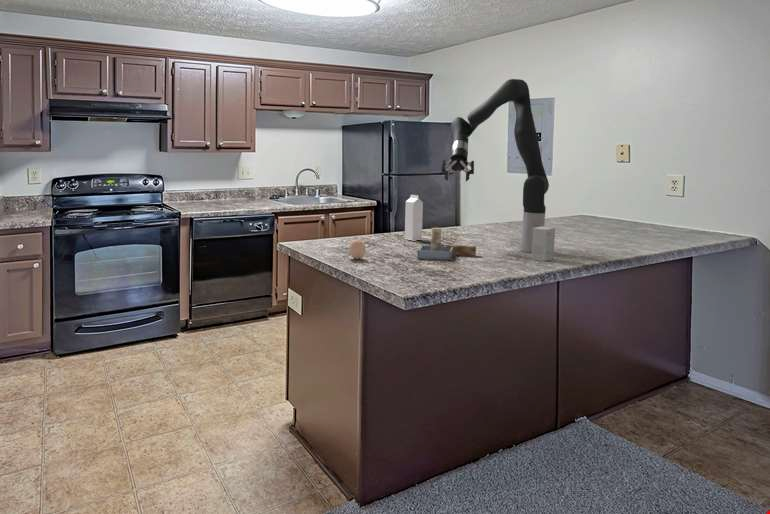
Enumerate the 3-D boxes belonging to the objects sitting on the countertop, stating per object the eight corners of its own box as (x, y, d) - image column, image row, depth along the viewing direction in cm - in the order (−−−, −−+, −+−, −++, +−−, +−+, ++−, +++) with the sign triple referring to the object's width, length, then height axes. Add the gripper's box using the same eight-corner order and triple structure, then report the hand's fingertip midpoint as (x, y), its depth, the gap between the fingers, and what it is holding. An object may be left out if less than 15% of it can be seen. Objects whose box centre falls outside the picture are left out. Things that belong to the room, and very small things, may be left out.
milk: (412, 241, 271) (413, 195, 267) (404, 240, 276) (405, 194, 271) (422, 240, 275) (423, 195, 270) (414, 239, 279) (415, 194, 275)
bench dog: (475, 255, 238) (476, 245, 238) (475, 256, 236) (475, 247, 235) (447, 253, 241) (447, 244, 240) (446, 255, 238) (446, 245, 237)
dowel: (441, 254, 235) (441, 227, 233) (440, 255, 231) (440, 229, 229) (431, 253, 236) (431, 227, 234) (430, 255, 232) (430, 228, 230)
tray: (453, 254, 239) (453, 246, 238) (450, 260, 226) (451, 252, 225) (421, 253, 241) (421, 245, 241) (417, 258, 228) (417, 250, 228)
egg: (367, 260, 224) (367, 240, 222) (351, 261, 222) (351, 241, 221) (363, 257, 230) (363, 238, 229) (347, 257, 228) (347, 238, 227)
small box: (539, 256, 238) (541, 225, 235) (553, 258, 234) (555, 227, 231) (530, 259, 232) (532, 227, 229) (545, 261, 228) (547, 229, 225)
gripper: (443, 146, 255) (440, 173, 246) (475, 147, 252) (473, 174, 243) (444, 158, 261) (440, 185, 252) (475, 159, 258) (473, 185, 250)
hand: (456, 179), depth 248 cm, fingers open, 8 cm apart
